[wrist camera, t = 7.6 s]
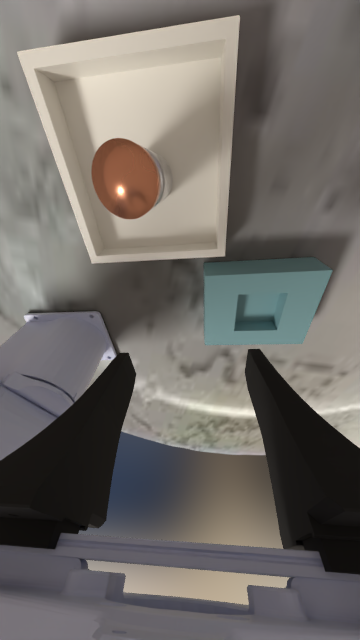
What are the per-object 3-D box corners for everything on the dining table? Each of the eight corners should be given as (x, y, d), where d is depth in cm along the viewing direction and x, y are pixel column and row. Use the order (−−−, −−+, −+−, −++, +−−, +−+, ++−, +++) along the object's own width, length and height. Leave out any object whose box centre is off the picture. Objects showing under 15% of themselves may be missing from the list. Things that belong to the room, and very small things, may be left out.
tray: (102, 253, 19) (92, 263, 17) (46, 71, 12) (16, 51, 10) (221, 246, 18) (224, 256, 16) (231, 43, 11) (240, 14, 9)
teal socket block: (203, 327, 23) (204, 345, 21) (203, 262, 19) (205, 275, 16) (290, 325, 23) (302, 343, 20) (314, 256, 18) (333, 270, 15)
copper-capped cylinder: (141, 207, 16) (110, 226, 10) (125, 161, 14) (78, 152, 8) (177, 196, 15) (165, 209, 9) (165, 146, 13) (143, 126, 8)
